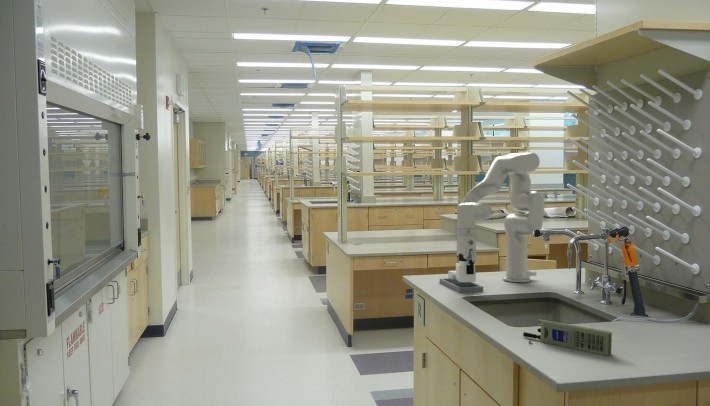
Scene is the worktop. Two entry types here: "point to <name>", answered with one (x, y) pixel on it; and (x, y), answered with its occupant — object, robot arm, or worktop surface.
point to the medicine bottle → (464, 270)
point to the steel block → (452, 277)
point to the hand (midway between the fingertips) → (465, 272)
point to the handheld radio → (574, 337)
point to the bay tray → (462, 286)
